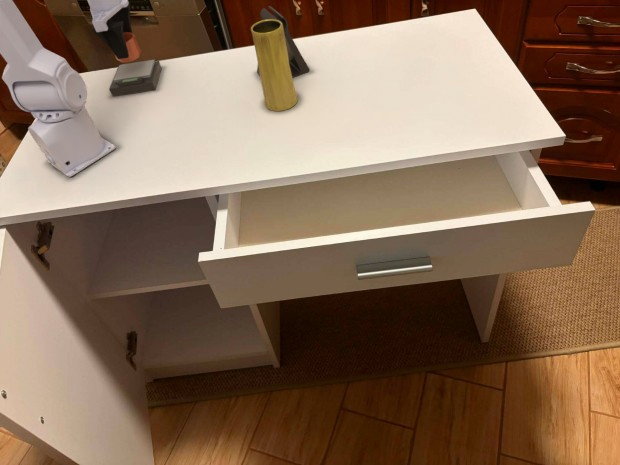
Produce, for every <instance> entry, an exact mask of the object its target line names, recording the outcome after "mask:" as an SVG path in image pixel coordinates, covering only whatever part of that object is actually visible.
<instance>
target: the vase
mask: <svg viewBox="0 0 620 465" xmlns="http://www.w3.org/2000/svg"><path fill="white" fill-rule="evenodd" d="M250 31H251V36H252V41H253V46H254V50H255V56H256V60H257V67H258V66H259V71H260V75H259V77H260V83H261V89H262V93H263V98H264V106H265V107H266V109H268V110H270V111H274V112H283V111H287V110H289V109H291V108H293V107H294V106H296V104H297V103H298V100H299V98H298V95H297V91H296V87H295V83H294V77H293V78H292V74H291V70H290V66H289V59H288V53H287V47H286V41H285V35H284V28H283V24H282V22H281V21H279V20H276V19H266V20H260V21H257V22H255V23H253V24H252V25H251V26H250Z"/></svg>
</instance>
